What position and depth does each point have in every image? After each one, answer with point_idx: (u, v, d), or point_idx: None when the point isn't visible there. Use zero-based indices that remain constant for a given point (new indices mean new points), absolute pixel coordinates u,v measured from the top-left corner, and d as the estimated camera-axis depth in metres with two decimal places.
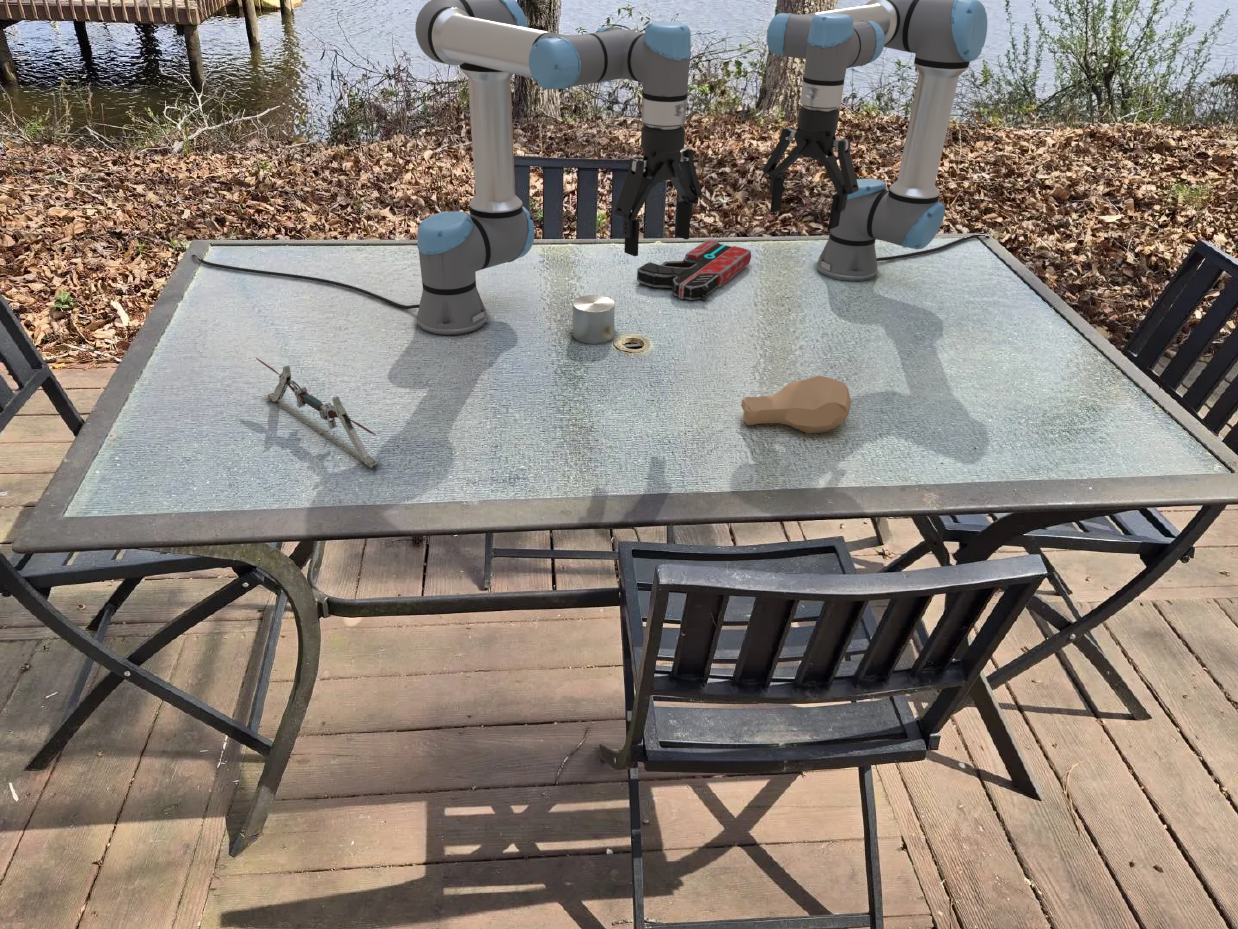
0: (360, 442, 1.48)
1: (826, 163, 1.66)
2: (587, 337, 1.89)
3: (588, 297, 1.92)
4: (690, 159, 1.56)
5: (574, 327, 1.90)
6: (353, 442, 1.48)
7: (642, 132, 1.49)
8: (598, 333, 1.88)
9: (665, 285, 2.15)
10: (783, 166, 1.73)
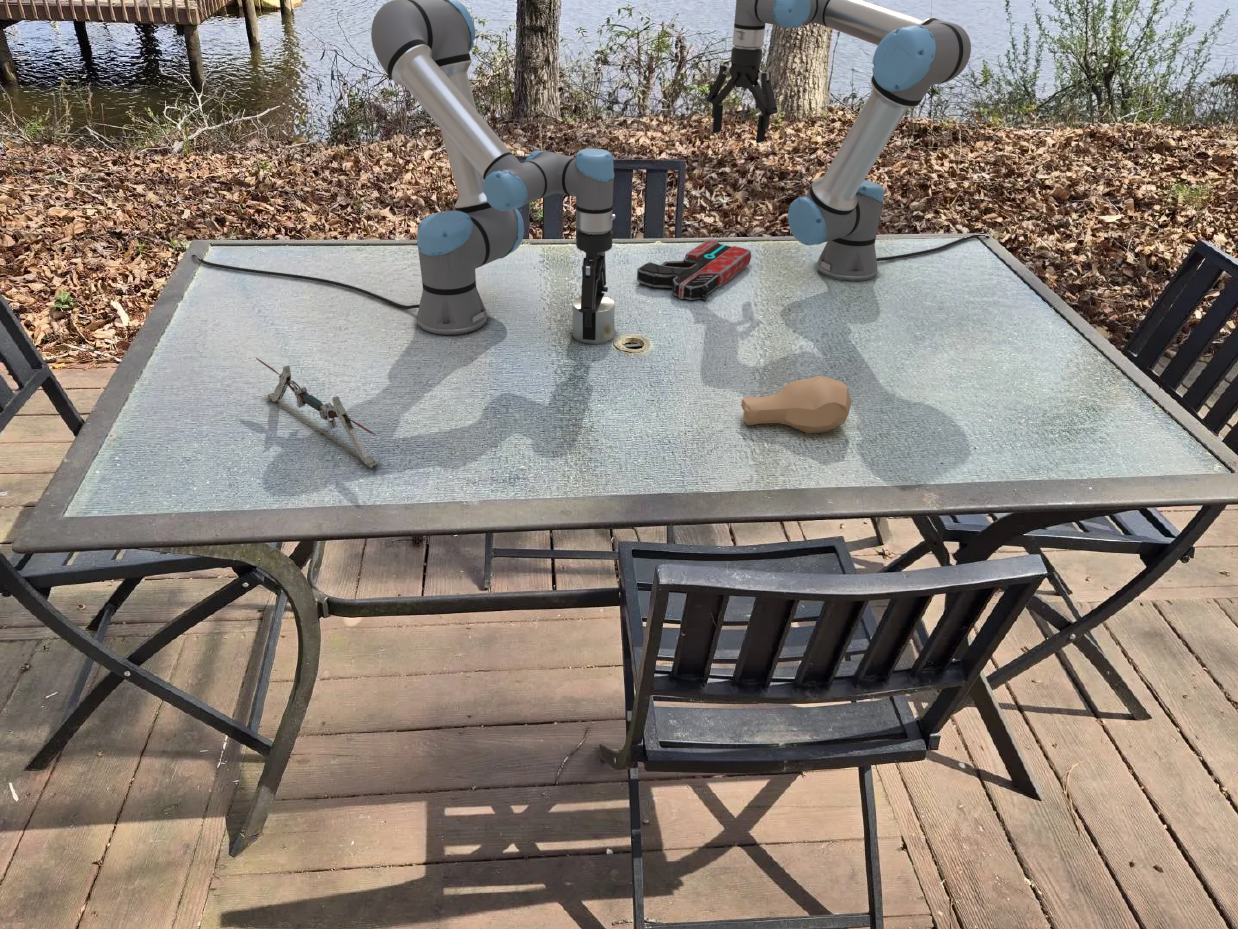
0: (360, 442, 1.48)
1: (753, 91, 2.17)
2: None
3: None
4: (604, 254, 1.89)
5: (574, 327, 1.90)
6: (353, 442, 1.48)
7: (582, 239, 1.78)
8: (598, 333, 1.88)
9: (665, 285, 2.15)
10: (721, 95, 2.23)
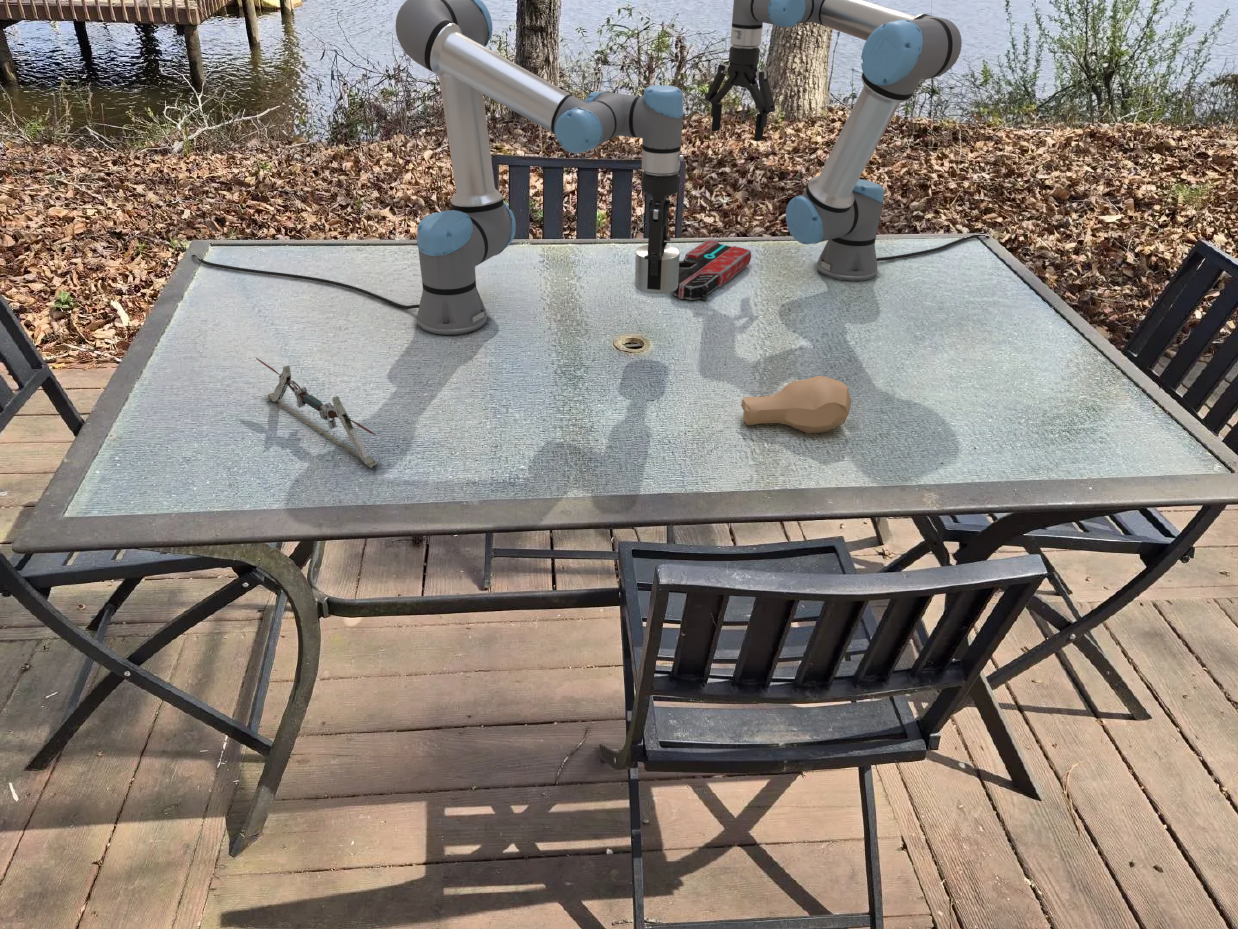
0: (360, 442, 1.48)
1: (751, 89, 2.19)
2: None
3: None
4: (668, 200, 1.81)
5: (637, 277, 1.82)
6: (353, 442, 1.48)
7: (649, 181, 1.71)
8: (663, 282, 1.81)
9: None
10: (720, 94, 2.26)
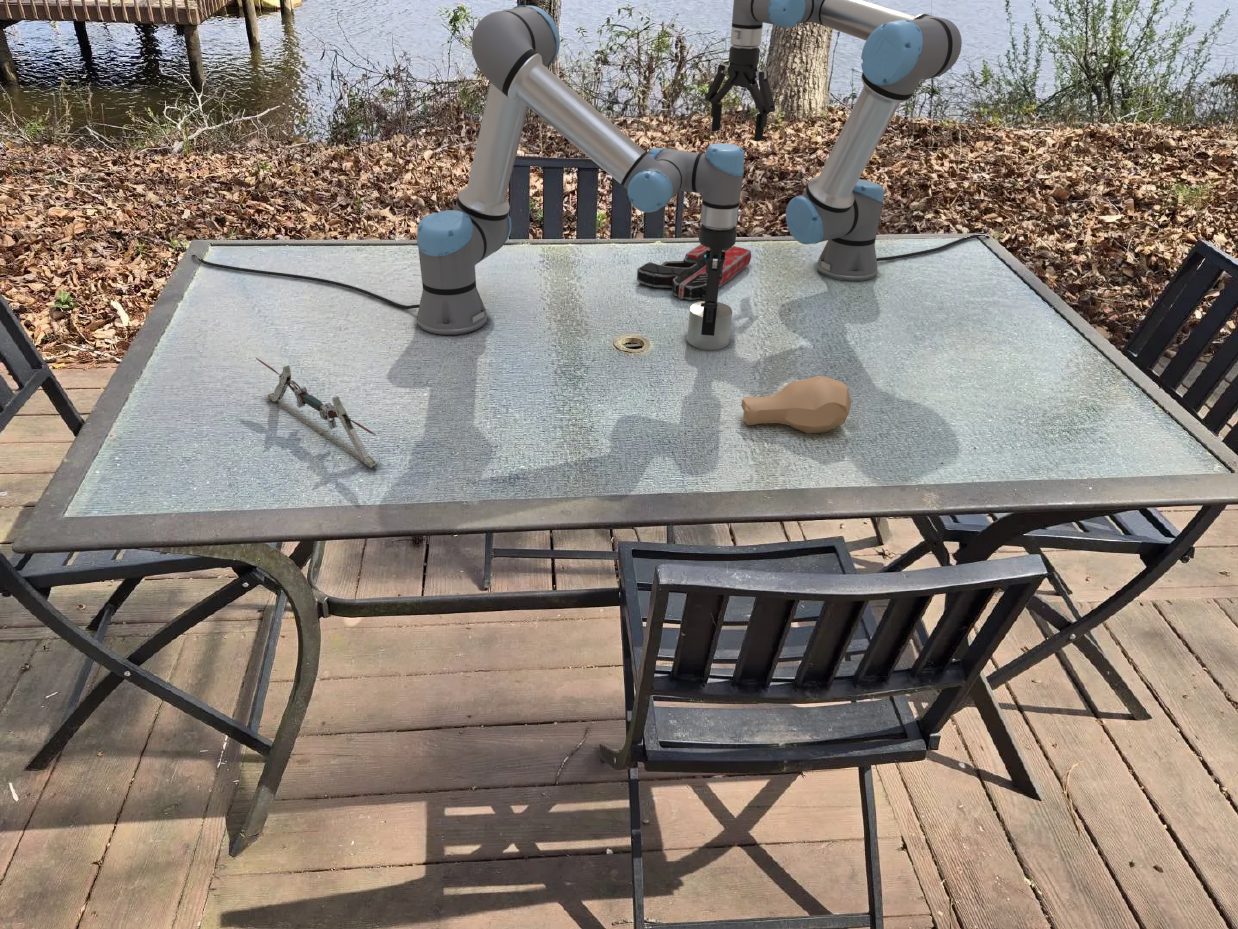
0: (360, 442, 1.48)
1: (751, 89, 2.19)
2: (705, 343, 1.88)
3: None
4: None
5: (691, 333, 1.89)
6: (353, 442, 1.48)
7: (709, 235, 1.76)
8: (717, 339, 1.87)
9: (665, 285, 2.15)
10: (720, 94, 2.26)
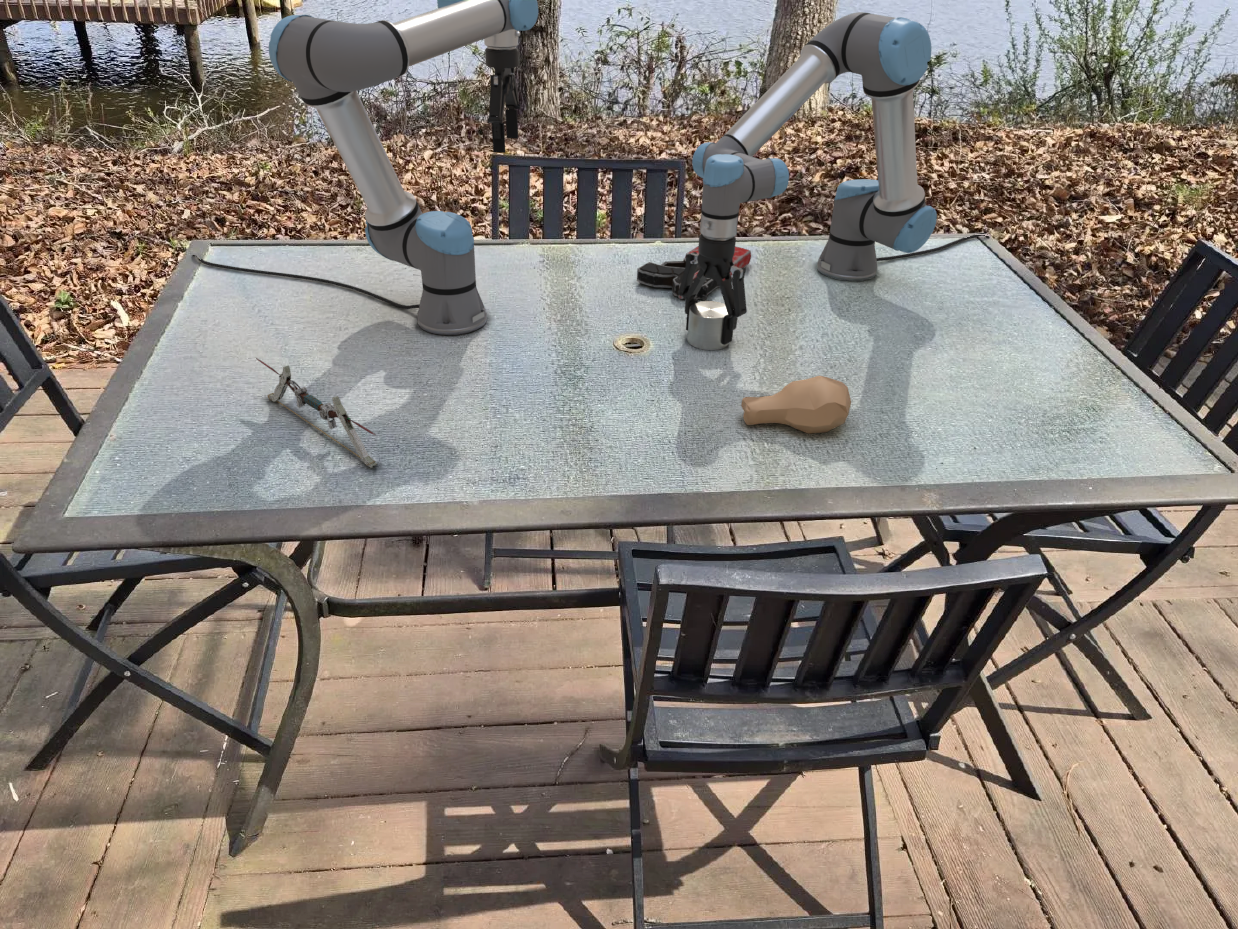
0: (360, 442, 1.48)
1: (722, 286, 1.82)
2: (705, 343, 1.88)
3: (703, 303, 1.90)
4: (514, 74, 2.06)
5: (691, 333, 1.89)
6: (353, 442, 1.48)
7: (490, 54, 1.95)
8: (717, 339, 1.87)
9: (665, 285, 2.15)
10: (693, 289, 1.87)
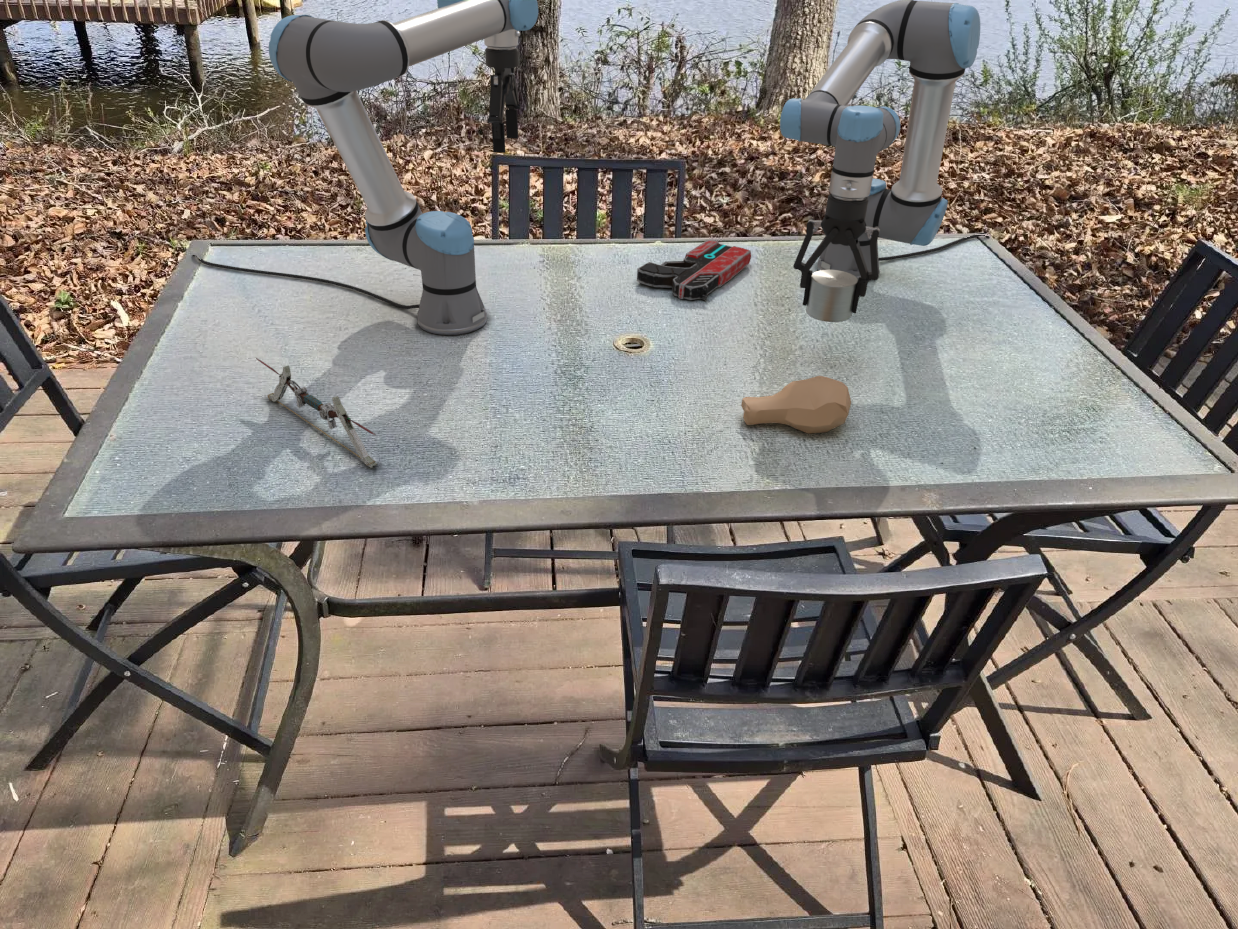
0: (360, 442, 1.48)
1: (855, 250, 1.68)
2: (838, 315, 1.73)
3: (819, 273, 1.75)
4: (514, 74, 2.06)
5: (820, 307, 1.73)
6: (353, 442, 1.48)
7: (490, 54, 1.95)
8: (849, 308, 1.73)
9: (665, 285, 2.15)
10: (815, 258, 1.72)
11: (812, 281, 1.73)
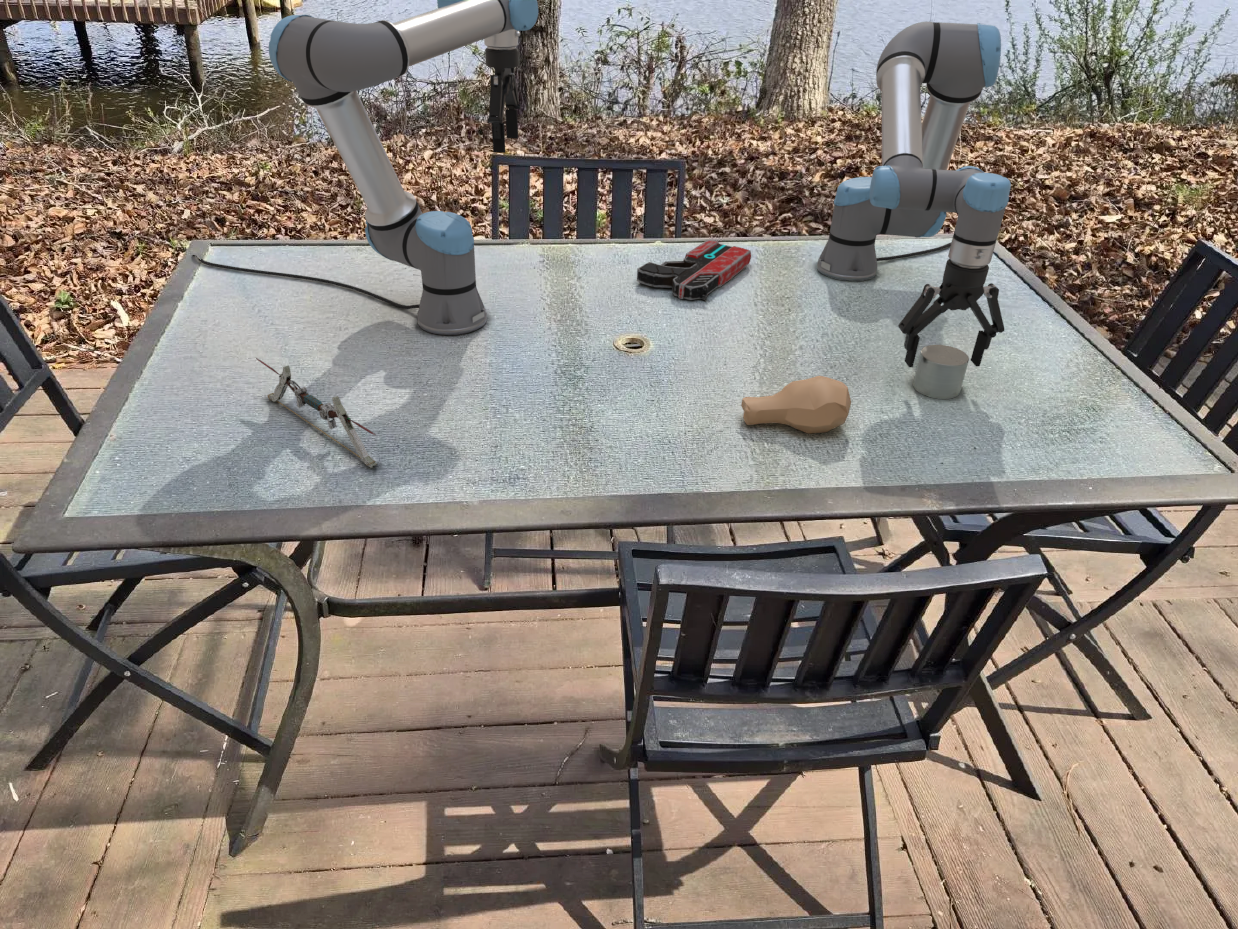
0: (360, 442, 1.48)
1: (978, 311, 1.67)
2: (956, 391, 1.73)
3: (926, 351, 1.73)
4: (514, 74, 2.06)
5: (939, 387, 1.72)
6: (353, 442, 1.48)
7: (490, 54, 1.95)
8: (962, 382, 1.74)
9: (665, 285, 2.15)
10: (928, 323, 1.67)
11: (928, 362, 1.71)
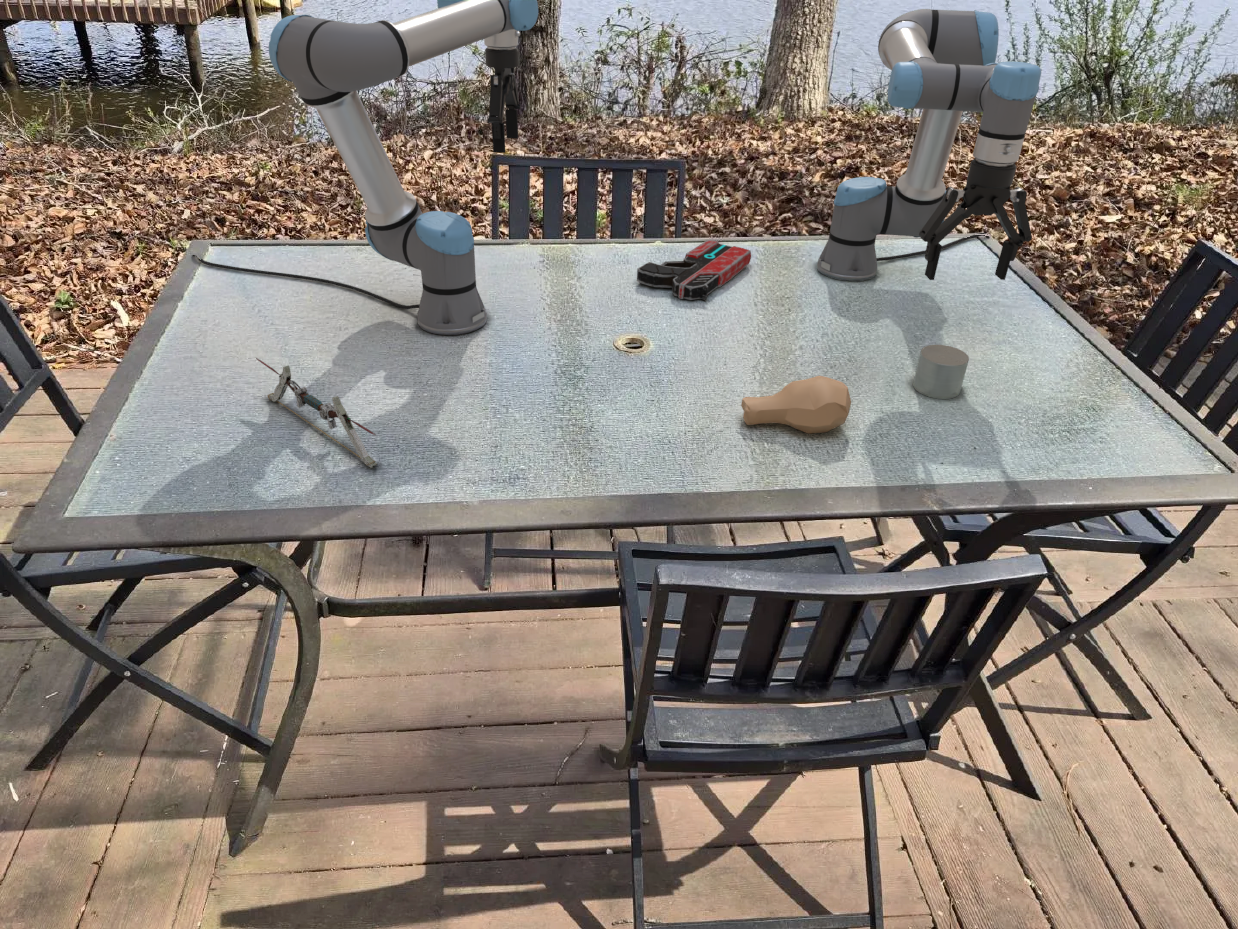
0: (360, 442, 1.48)
1: (1004, 216, 1.56)
2: (956, 391, 1.73)
3: (926, 351, 1.73)
4: (514, 74, 2.06)
5: (939, 387, 1.72)
6: (353, 442, 1.48)
7: (490, 54, 1.95)
8: (962, 382, 1.74)
9: (665, 285, 2.15)
10: (950, 229, 1.57)
11: (928, 362, 1.71)
